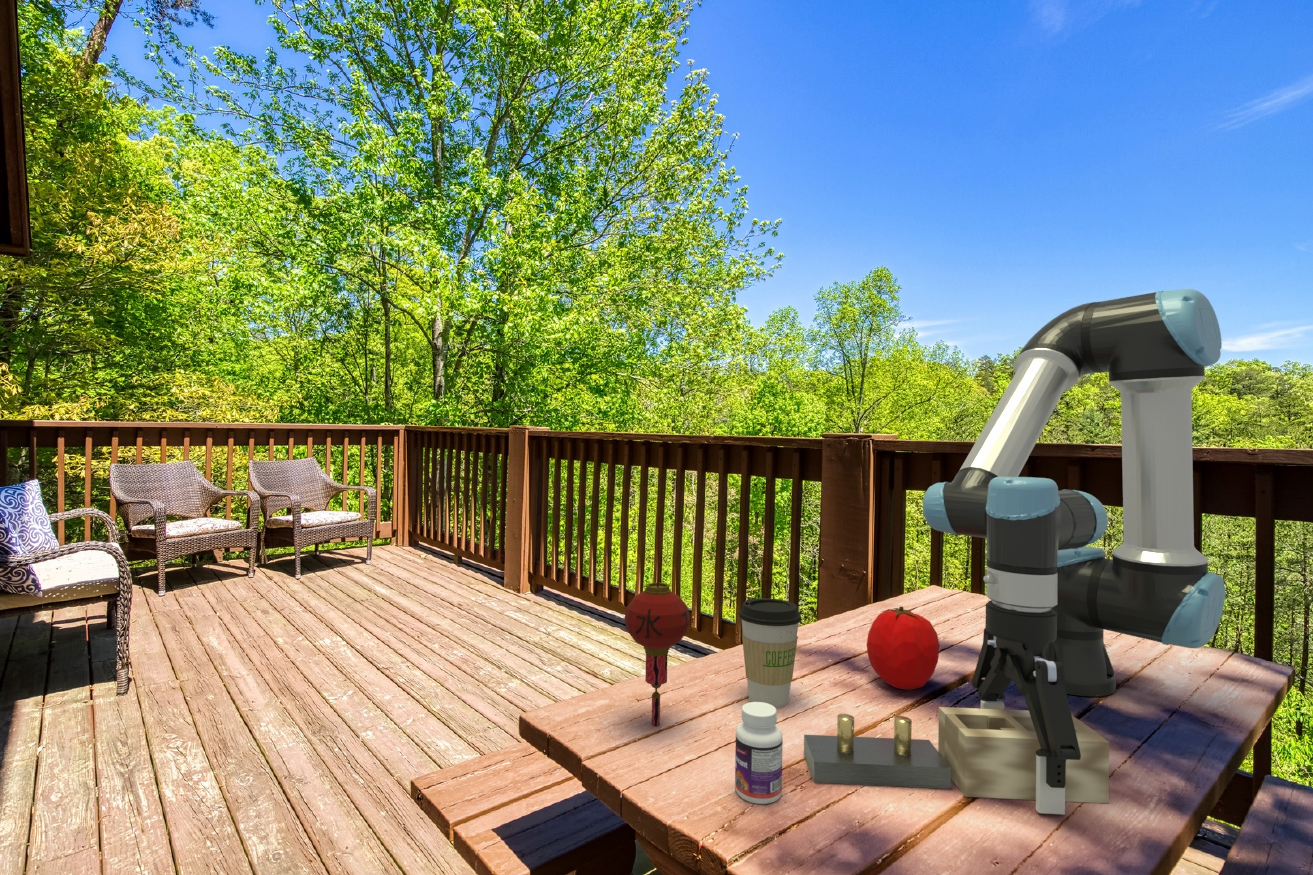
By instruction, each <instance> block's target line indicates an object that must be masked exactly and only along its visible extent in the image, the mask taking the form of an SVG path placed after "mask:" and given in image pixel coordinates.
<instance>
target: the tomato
mask: <svg viewBox="0 0 1313 875" xmlns="http://www.w3.org/2000/svg"><path fill="white" fill-rule="evenodd" d="M917 608H919V607H918V606H915V607H913V608H911V609H904V606H899V608H898V607H895V608H891V609H890V608H889V609H885V610H883V611H881V612H879V614H878V615H877V616H876V618H874V620H873V622H872V623H871V626H870V629H869V631H868V633H867V640H866V651H867V657H868V659H869V662H870V665H871V667H872V669H873V670H874V672H875V673H876V674H877V675H878V677H880V679H882V680H883V681H884V682H885V683H887V684H888V685H890V686H892V687H894V688H896V689H901V690H906V691H911V690H915V689H919V688H923V687H924V686H925V685H926V683H928V682H929V680H930V679H931V677H932V676H933V675H934V673H935V671H936V667H937V665H938V663H939V654H940V642H939V641H940V640H939V636H938V633H937V631H936V629H935V628H934V626H933V625H932V623H931V621H930V620H928V619H927V618H925V617H924V616H921V615H920V614H918V613H915V612H912V611H914V610H915V609H917Z"/></svg>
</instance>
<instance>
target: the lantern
mask: <svg viewBox="0 0 1313 875" xmlns="http://www.w3.org/2000/svg"><path fill="white" fill-rule="evenodd" d="M660 517H661V515H659V514H658V515H657V550H656V551H657V552H656V553H657V554H656V557H657V560H656V582H649V583H646V584H645V588H644V590H643V591H641V592H640V593H638V594H636V595H635V596H634V597H633V599H632V600H631V601H630V603H629V604H628V605H627V606H626V610H625V614H624V623H625V624H624V625H625V628H626V631H627V633H628V634H629V635H630V637H631V638H632V639H633V641H634V642H635V643H636V644H638V645H640V646H642V647H643V649H644V653H645V682H646V683H647V684H649V685H650V686H651V687H652V688H654V689H655V691H654V692H652V694H651V725H652V726H654V727H658V726H660V725H661V724H660V722H661V694H660V692H659V691H658V689H659V688H661V687H662V685H665V684H667V682H668V654H669V650H671V649H670V648H671V647H673V646H675V645H677V644H678V643H680V642H681V641H682V639H683V638H684V637H685V636H686V634H687V632H688V628H689V624H690V620H691V619H690V618H691V617H690V611H689V606H687V604H686V602H685V601H684V600H683V599H682V597H681V596H680V595H678V594H677V593H676V592H673V591H672V590H671V588H670V584H668V583H665V582H659V580H660V579H659V578H660V533H661V532H660V531H661V530H660V525H661V524H660V522H661V521H660V519H661V518H660Z"/></svg>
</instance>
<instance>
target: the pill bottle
mask: <svg viewBox="0 0 1313 875" xmlns="http://www.w3.org/2000/svg"><path fill="white" fill-rule="evenodd" d="M777 713H778V712H777V708H775V707H774V706H772V705H770V704H768V703H764V702H751V701H749V702H746V703H744V704H743V705H742V707H741V721H742V722H740V723H739V724H738V726H737V727H736V730H735V752H734V753H735V758H734V759H735V760H734V762H735V765H734V768H735V770H734V772H735V773H734V780H735V781H734V784H735V785H734V788H735V791H736V794H737V795H738V796H739V797H740V798H742V799H743V800H745V801H747V802H749V803H752V804H756V805H757V804H758V805H765V804H766V805H767V804H772V803H774V802H776V801H778V800H779V799H780V798H781V795H782V792H783V791H782V789H783V745H784V744H783V739H784V738H783V731H782V730H781V729H780V727H779V726H778V725H777V721H778V718H777V716H778V715H777Z"/></svg>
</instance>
